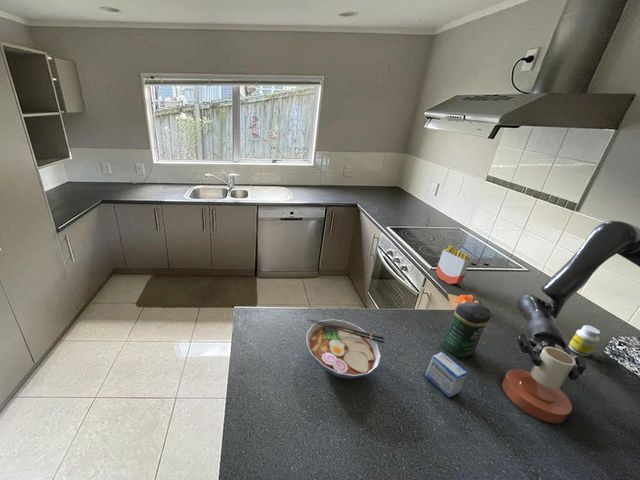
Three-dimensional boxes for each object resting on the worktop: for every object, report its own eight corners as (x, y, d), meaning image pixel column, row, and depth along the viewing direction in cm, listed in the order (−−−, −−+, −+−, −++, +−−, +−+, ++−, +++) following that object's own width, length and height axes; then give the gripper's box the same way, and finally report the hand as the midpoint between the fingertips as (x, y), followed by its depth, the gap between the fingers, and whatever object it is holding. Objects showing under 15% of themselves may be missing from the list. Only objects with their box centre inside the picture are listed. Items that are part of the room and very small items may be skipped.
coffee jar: (457, 361, 94) (476, 317, 86) (437, 343, 100) (453, 301, 93) (478, 354, 96) (498, 311, 89) (457, 338, 103) (474, 296, 96)
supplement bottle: (566, 342, 103) (578, 321, 100) (587, 349, 101) (601, 328, 97) (569, 351, 99) (583, 330, 96) (591, 359, 97) (606, 337, 93)
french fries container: (440, 273, 145) (451, 242, 138) (461, 285, 136) (473, 252, 129) (434, 275, 143) (444, 244, 136) (454, 287, 134) (467, 254, 127)
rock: (451, 308, 119) (454, 300, 117) (447, 293, 129) (449, 285, 127) (485, 317, 114) (489, 309, 113) (478, 301, 124) (481, 293, 123)
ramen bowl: (292, 375, 86) (295, 356, 83) (308, 326, 106) (310, 309, 102) (379, 407, 78) (386, 387, 74) (378, 348, 97) (383, 329, 94)
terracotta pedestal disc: (560, 395, 83) (566, 385, 82) (571, 434, 73) (579, 424, 71) (500, 369, 91) (505, 360, 89) (503, 401, 81) (508, 391, 79)
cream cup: (558, 377, 79) (572, 354, 76) (562, 393, 75) (578, 369, 71) (529, 366, 83) (541, 342, 79) (531, 380, 78) (545, 356, 75)
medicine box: (424, 376, 88) (432, 355, 84) (434, 371, 89) (442, 351, 86) (449, 398, 81) (458, 377, 78) (458, 393, 83) (468, 372, 79)
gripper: (519, 315, 90) (525, 346, 77) (583, 336, 82) (602, 375, 69) (510, 333, 93) (515, 366, 80) (572, 355, 85) (587, 396, 72)
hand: (555, 370), depth 75 cm, fingers closed on cream cup, 6 cm apart
